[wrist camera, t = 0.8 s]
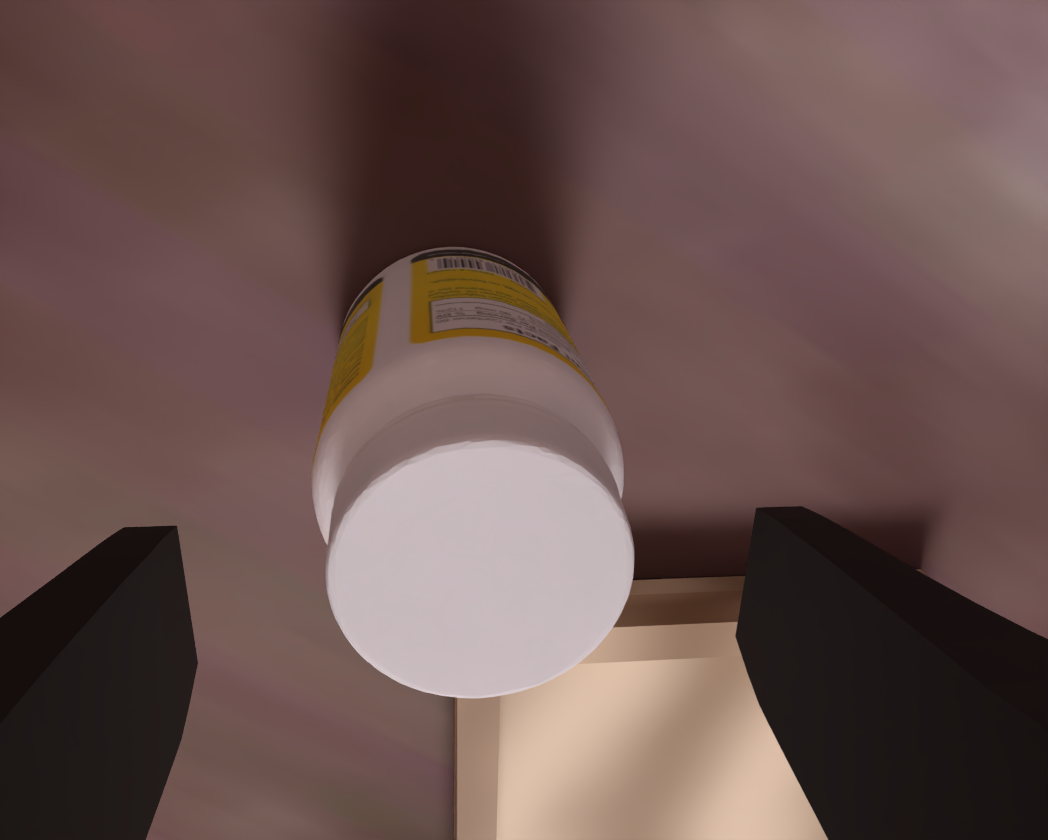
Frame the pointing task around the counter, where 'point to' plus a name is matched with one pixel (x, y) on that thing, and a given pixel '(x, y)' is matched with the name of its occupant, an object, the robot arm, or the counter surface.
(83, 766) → the robot arm
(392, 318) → the supplement bottle
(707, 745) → the tray
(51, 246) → the counter surface
